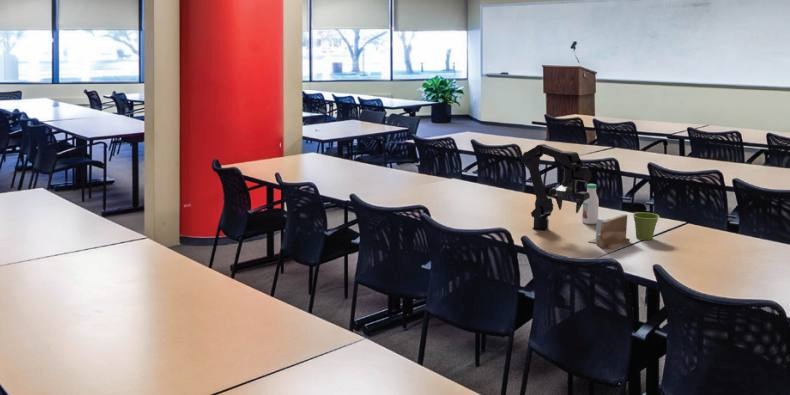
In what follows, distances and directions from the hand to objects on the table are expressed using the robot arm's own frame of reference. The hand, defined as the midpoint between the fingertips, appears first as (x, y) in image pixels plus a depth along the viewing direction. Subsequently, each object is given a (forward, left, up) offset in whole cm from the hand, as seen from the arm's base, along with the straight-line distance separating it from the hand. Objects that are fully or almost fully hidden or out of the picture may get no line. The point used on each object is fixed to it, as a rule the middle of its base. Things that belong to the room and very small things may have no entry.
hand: (568, 211), depth 343 cm
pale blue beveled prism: (+17, -4, -12) cm, 21 cm away
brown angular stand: (+20, -5, -12) cm, 23 cm away
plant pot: (+34, +10, -12) cm, 38 cm away
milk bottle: (+5, +30, -12) cm, 33 cm away
